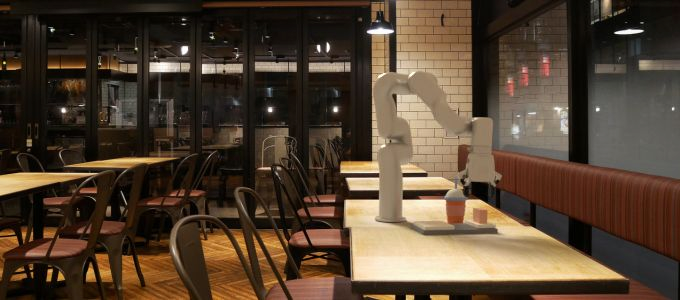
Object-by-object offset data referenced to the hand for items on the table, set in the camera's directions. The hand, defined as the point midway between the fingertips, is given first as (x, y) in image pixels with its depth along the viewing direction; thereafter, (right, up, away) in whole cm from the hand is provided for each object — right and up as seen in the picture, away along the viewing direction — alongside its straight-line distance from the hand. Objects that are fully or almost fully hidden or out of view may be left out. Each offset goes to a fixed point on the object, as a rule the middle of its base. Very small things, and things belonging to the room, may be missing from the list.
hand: (478, 196), depth 225 cm
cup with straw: (-5, -12, +17) cm, 22 cm away
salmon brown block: (+1, -11, 0) cm, 11 cm away
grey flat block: (-10, -12, -2) cm, 16 cm away
